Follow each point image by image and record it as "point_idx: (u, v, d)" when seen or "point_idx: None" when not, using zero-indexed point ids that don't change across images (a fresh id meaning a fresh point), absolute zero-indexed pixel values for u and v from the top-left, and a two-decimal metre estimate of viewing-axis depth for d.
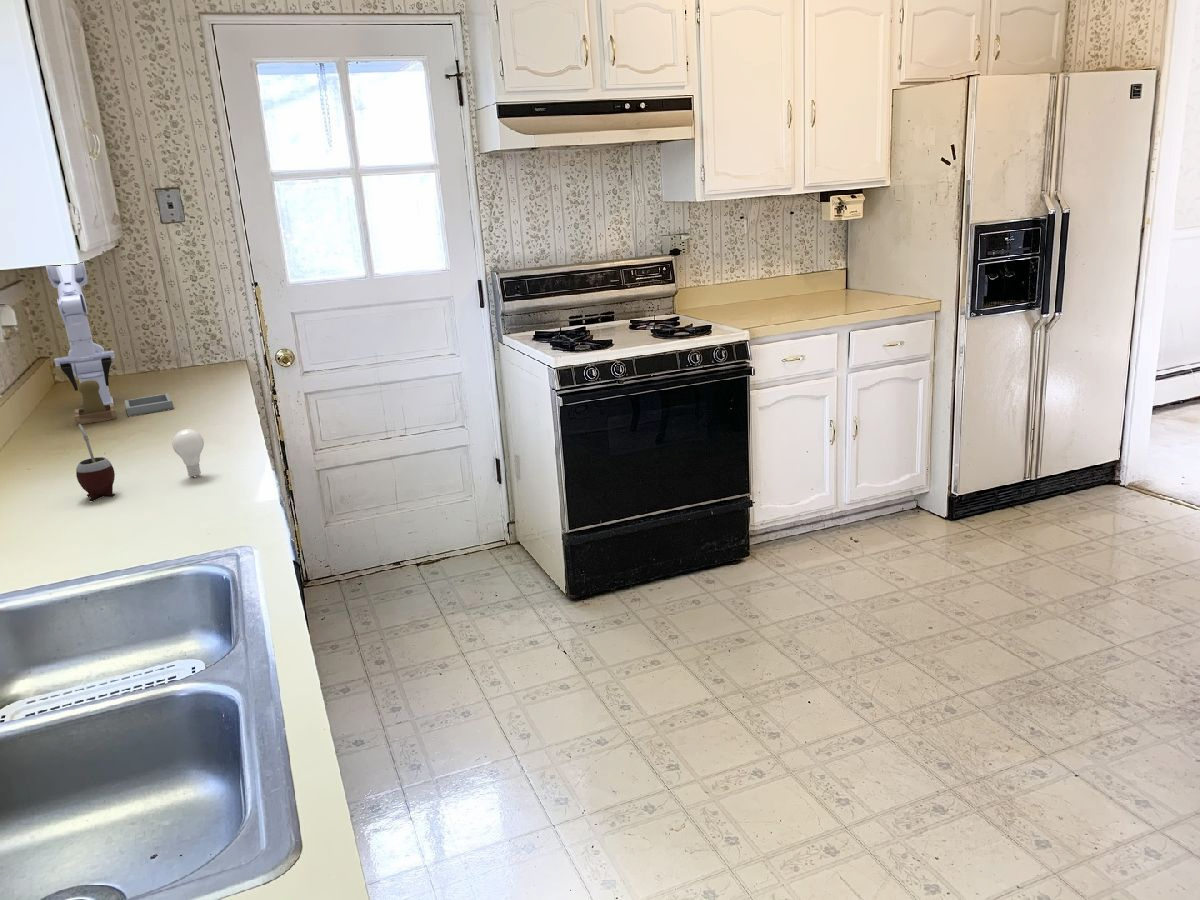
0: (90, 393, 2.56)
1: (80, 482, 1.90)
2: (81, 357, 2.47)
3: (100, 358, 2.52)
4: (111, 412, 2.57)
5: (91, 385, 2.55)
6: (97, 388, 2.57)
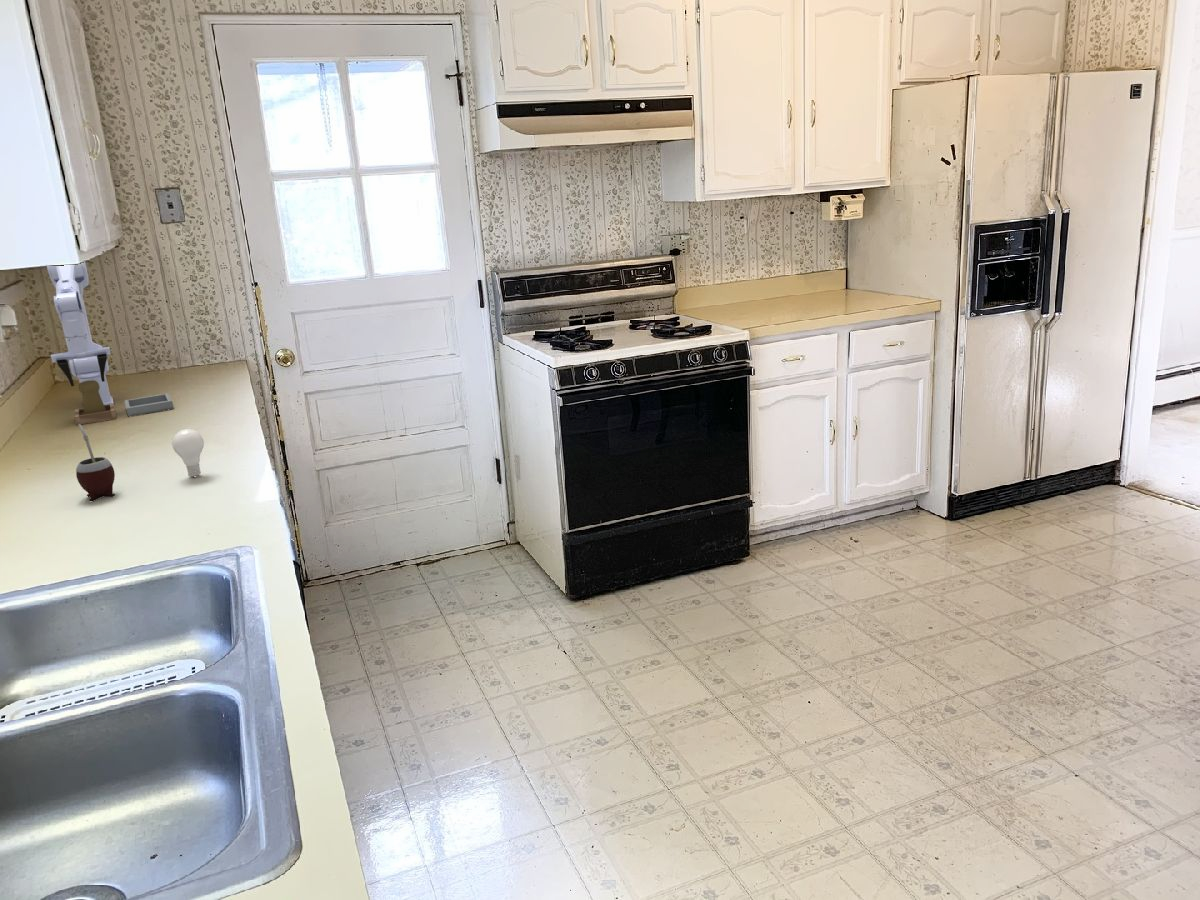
0: (90, 393, 2.56)
1: (80, 482, 1.90)
2: (77, 353, 2.51)
3: (96, 354, 2.56)
4: (111, 412, 2.57)
5: (91, 385, 2.55)
6: (97, 388, 2.57)
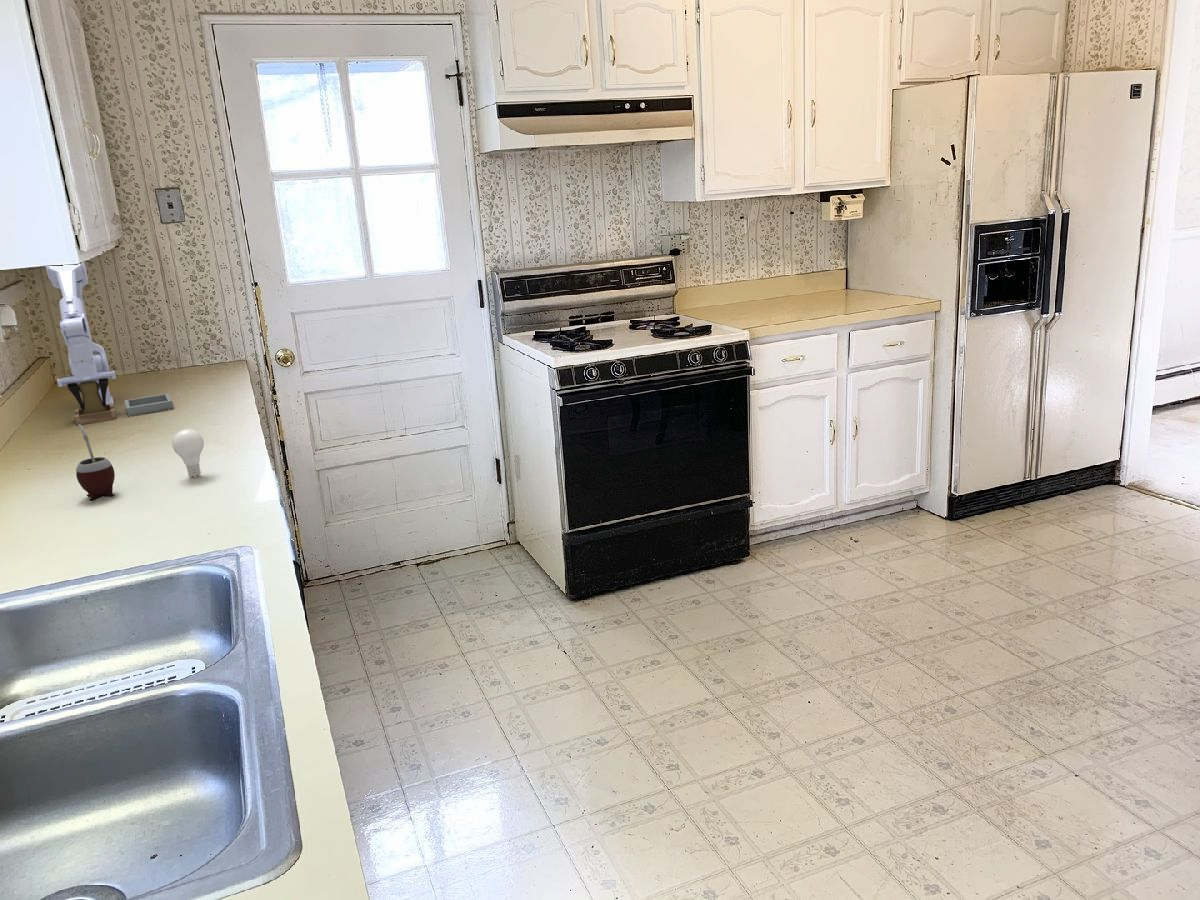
0: (90, 393, 2.56)
1: (80, 482, 1.90)
2: (83, 377, 2.53)
3: (102, 378, 2.58)
4: (111, 412, 2.57)
5: (91, 385, 2.55)
6: (97, 388, 2.57)
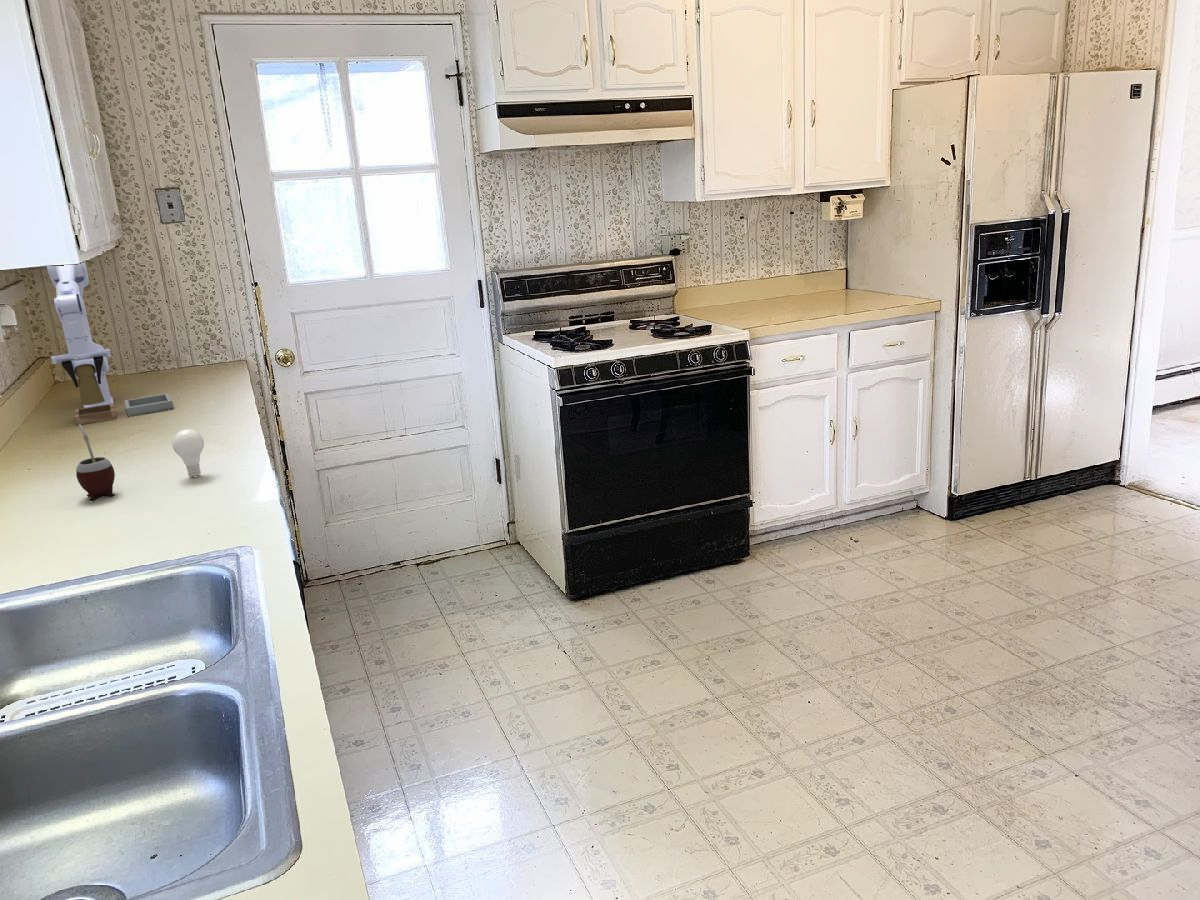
0: (86, 376, 2.54)
1: (80, 482, 1.90)
2: (78, 355, 2.51)
3: (96, 356, 2.56)
4: (111, 412, 2.57)
5: (87, 368, 2.54)
6: (93, 371, 2.55)
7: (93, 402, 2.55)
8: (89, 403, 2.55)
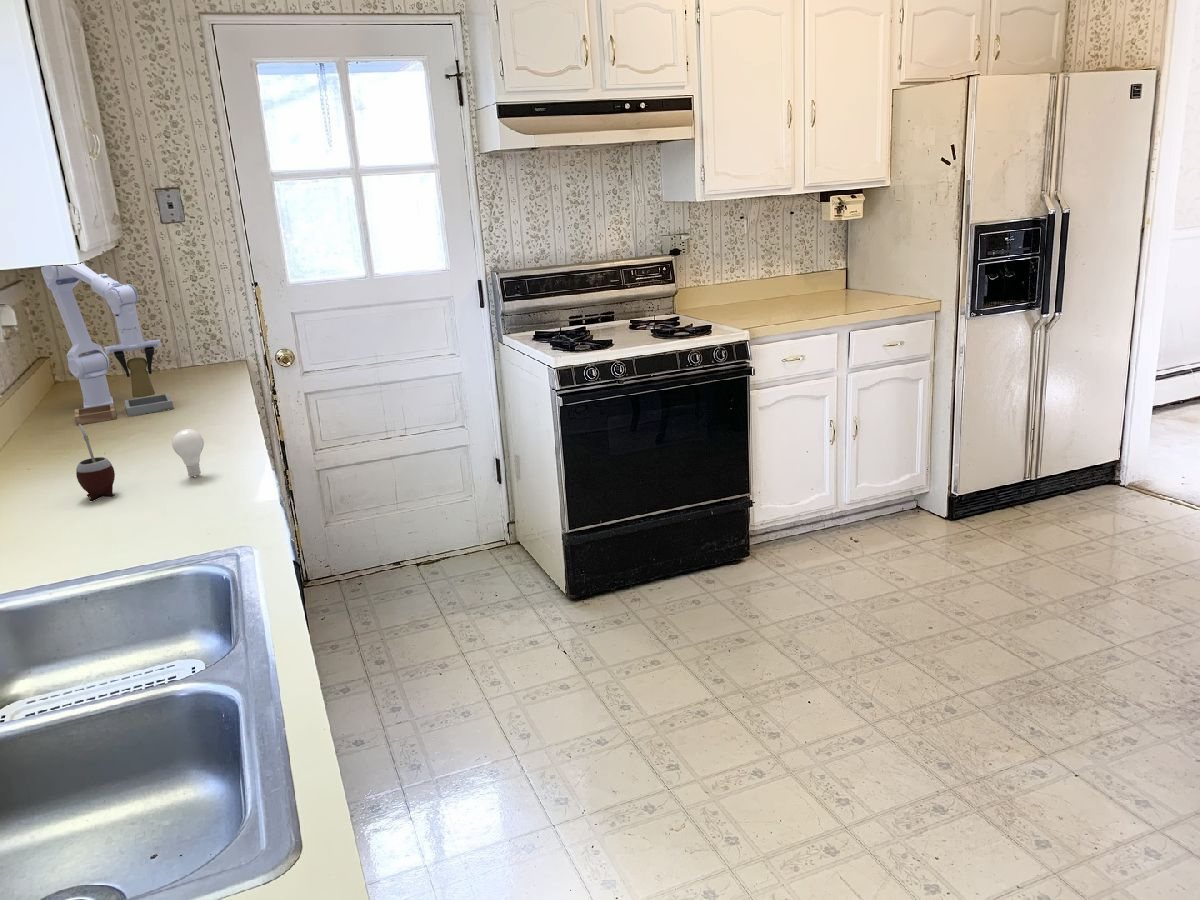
0: (138, 369, 2.61)
1: (80, 482, 1.90)
2: (130, 345, 2.57)
3: (147, 346, 2.62)
4: (111, 412, 2.57)
5: (139, 361, 2.60)
6: (145, 365, 2.62)
7: (145, 395, 2.62)
8: (141, 395, 2.62)
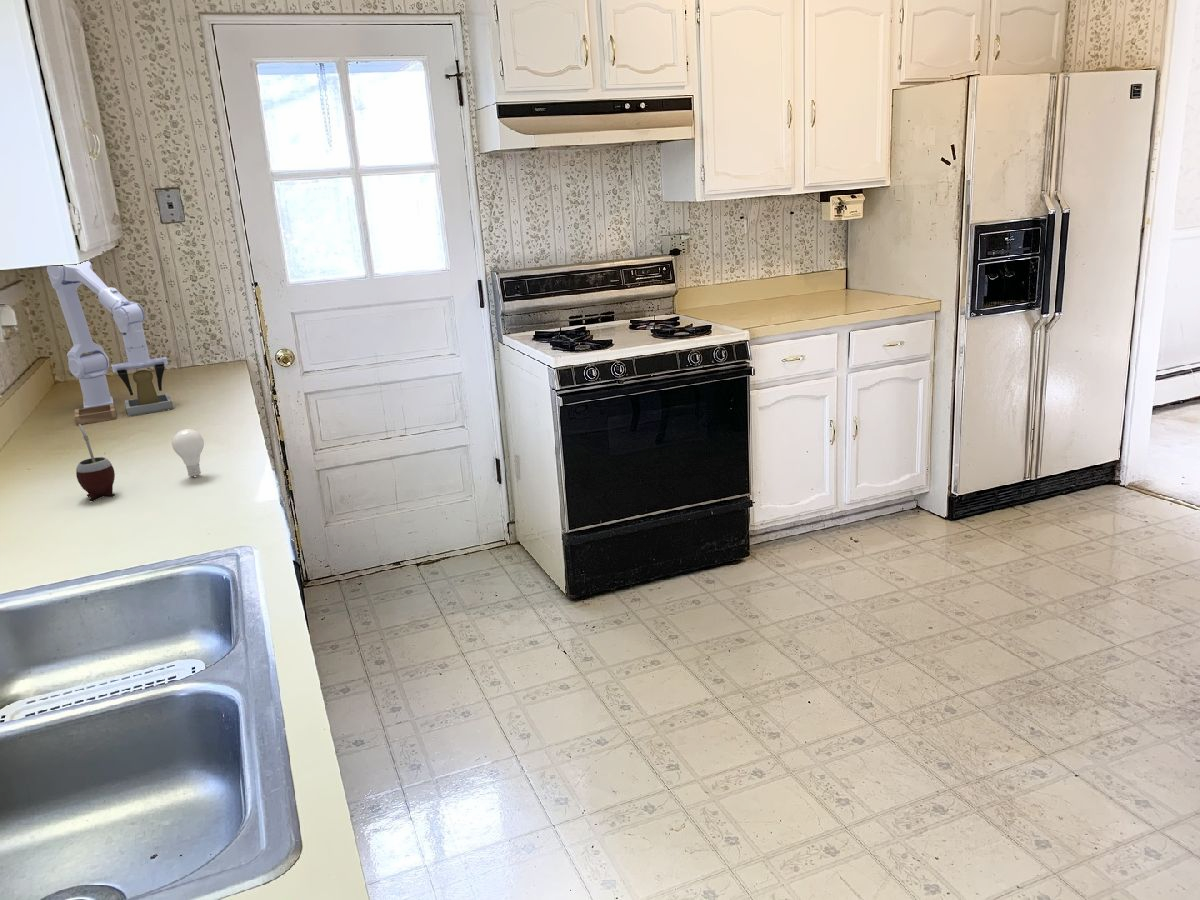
0: (144, 382, 2.62)
1: (80, 482, 1.90)
2: (137, 363, 2.59)
3: (154, 364, 2.64)
4: (111, 412, 2.57)
5: (145, 374, 2.62)
6: (151, 377, 2.63)
7: None
8: None
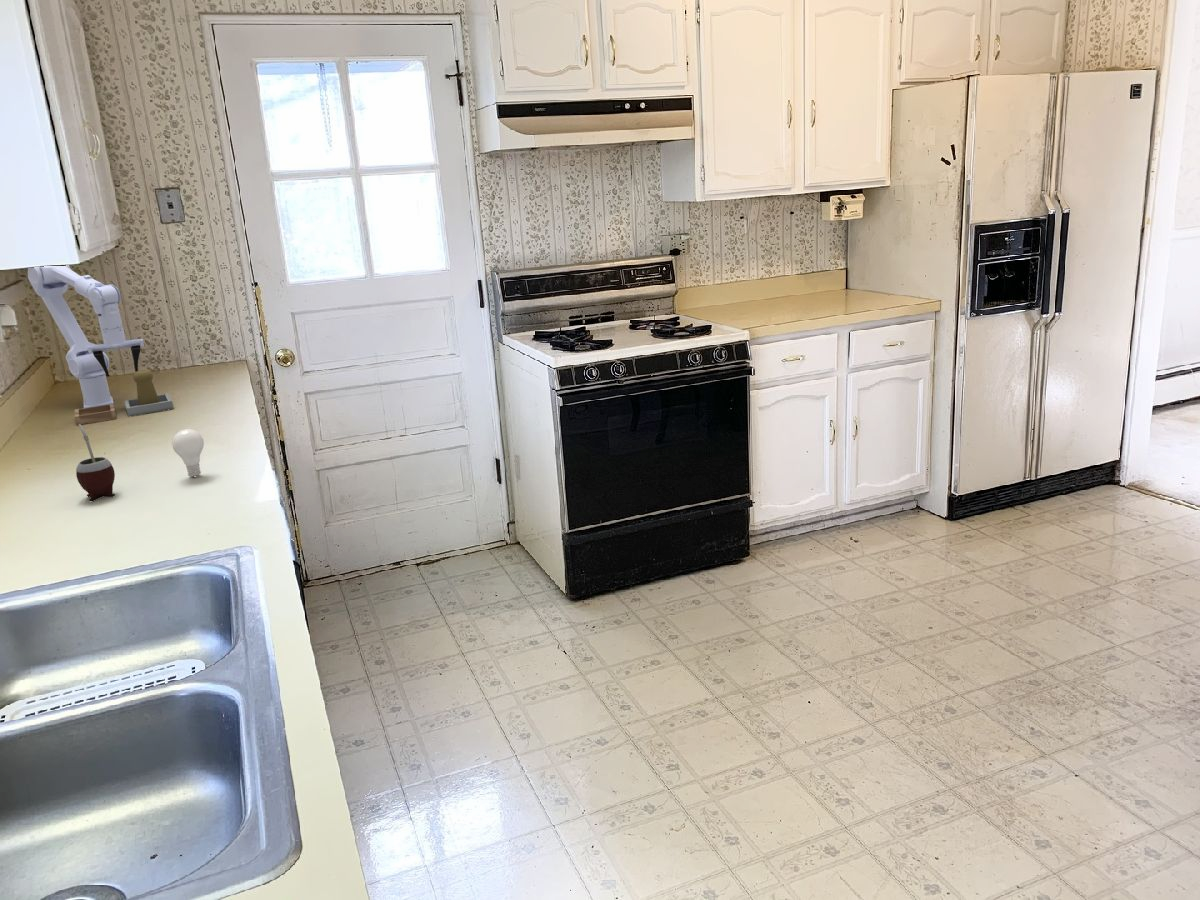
0: (145, 382, 2.62)
1: (80, 482, 1.90)
2: (112, 344, 2.61)
3: (130, 346, 2.65)
4: (111, 412, 2.57)
5: (146, 374, 2.62)
6: (151, 377, 2.63)
7: None
8: None
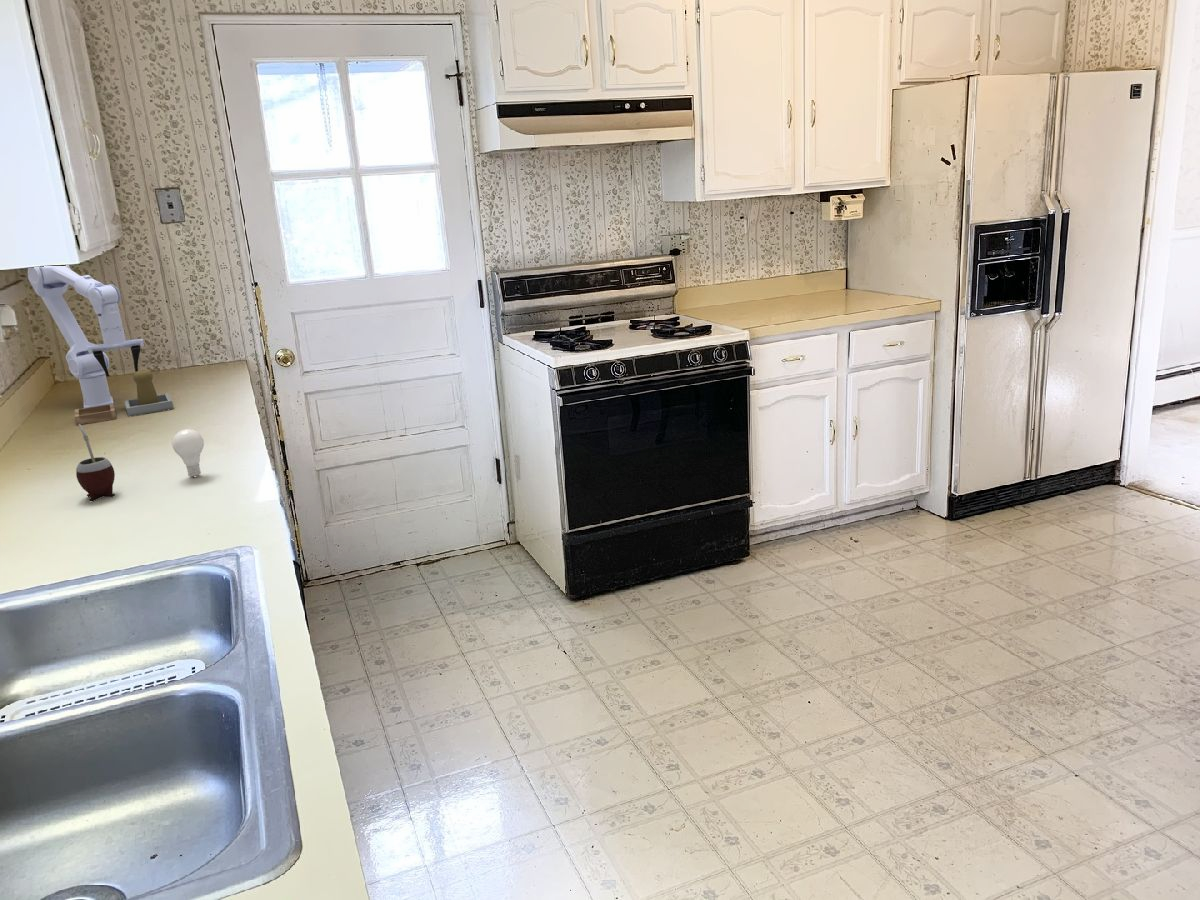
0: (144, 382, 2.62)
1: (80, 482, 1.90)
2: (112, 344, 2.61)
3: (130, 346, 2.65)
4: (111, 412, 2.57)
5: (145, 374, 2.62)
6: (151, 377, 2.63)
7: None
8: None
